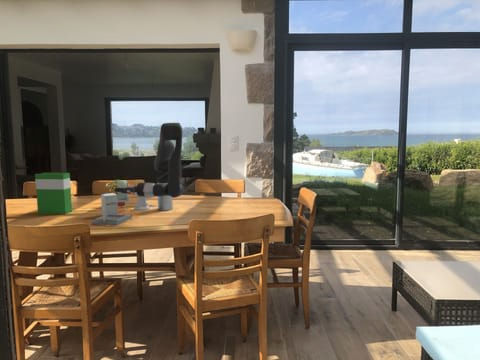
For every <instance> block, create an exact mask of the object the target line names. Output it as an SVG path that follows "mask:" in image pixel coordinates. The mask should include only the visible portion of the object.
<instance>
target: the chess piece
mask: <svg viewBox="0 0 480 360" xmlns="http://www.w3.org/2000/svg"><path fill="white" fill-rule="evenodd" d="M134 194H135V195H134V196H135V197H136V198H138V199H137V200H136V202H135V204H136V205H135V206H134V207H133V210H134V211H138V212H139V211H140V212H143V211H144V212H145V211H149V210H150V209H151V208H150V206H149V205H148V202H147V199H148V197H141V196H138V195H137V193H134Z"/></svg>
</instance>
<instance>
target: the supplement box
mask: <svg viewBox="0 0 480 360" xmlns="http://www.w3.org/2000/svg"><path fill="white" fill-rule="evenodd" d="M100 196H101V197H100V201H101V216H104V215H106V214H119V209H118V207H119V206H118V202H116V201H115V199H118V193H117V194H116V193H114V192H113V193H112V192H111V193H104V194H103V193H102V194H100Z"/></svg>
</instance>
